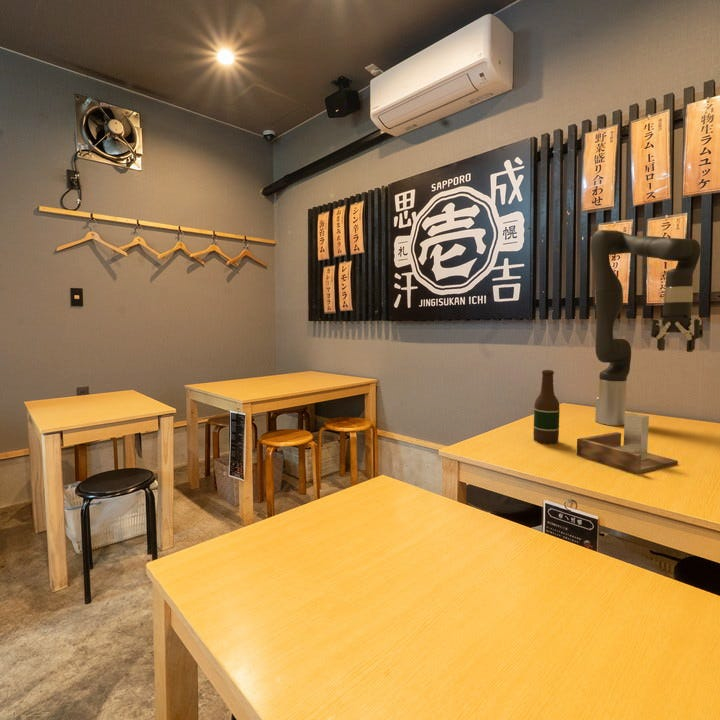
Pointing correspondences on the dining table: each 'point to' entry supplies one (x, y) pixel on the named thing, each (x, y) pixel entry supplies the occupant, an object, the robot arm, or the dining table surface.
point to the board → (646, 463)
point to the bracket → (636, 434)
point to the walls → (609, 450)
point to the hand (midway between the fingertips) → (675, 351)
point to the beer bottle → (546, 412)
